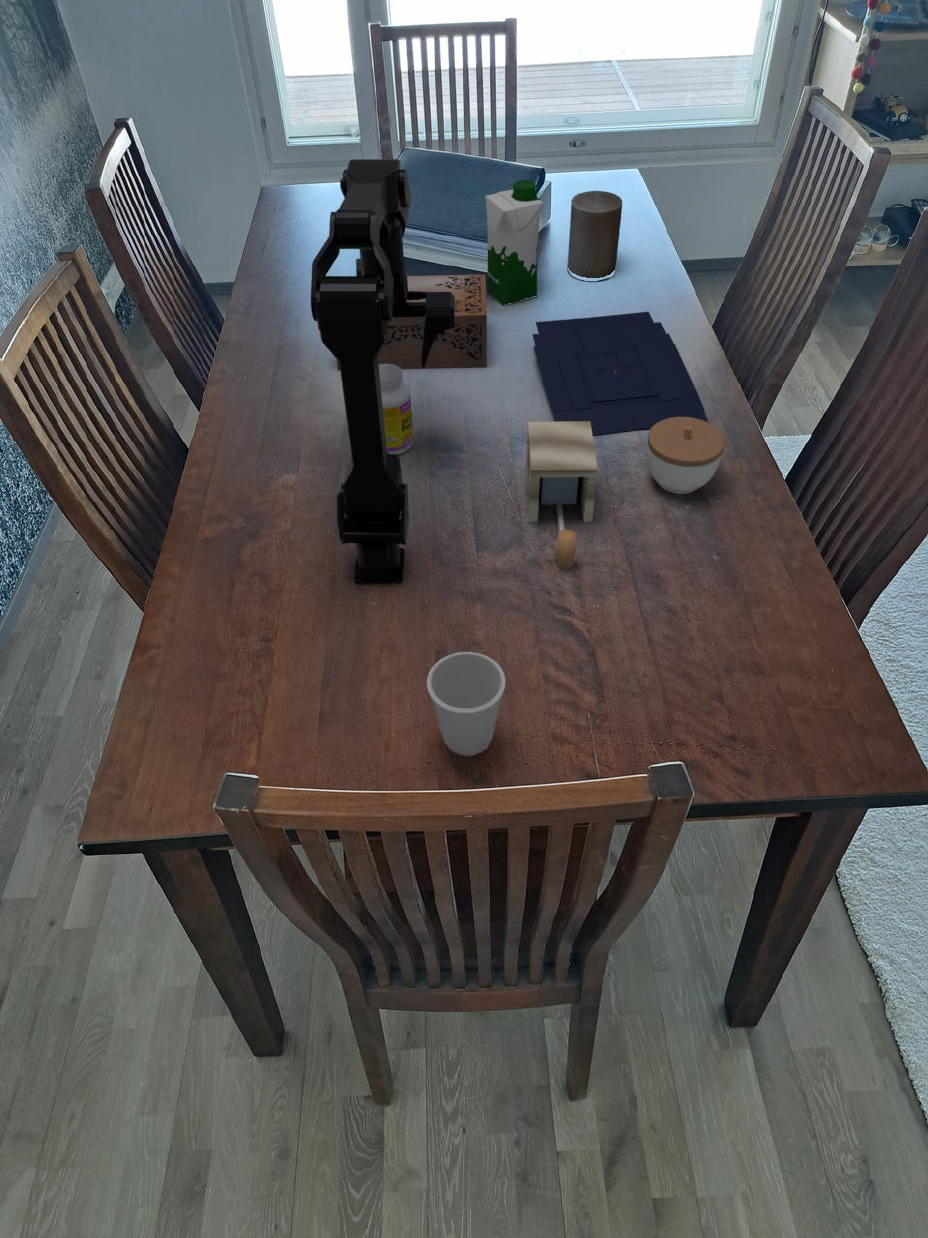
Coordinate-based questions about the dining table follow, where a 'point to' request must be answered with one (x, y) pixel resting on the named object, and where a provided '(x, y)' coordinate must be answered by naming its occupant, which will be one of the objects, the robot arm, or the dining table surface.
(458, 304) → the tissue box cover
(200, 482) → the dining table surface
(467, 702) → the dixie cup
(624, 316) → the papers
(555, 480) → the tethered block
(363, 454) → the robot arm
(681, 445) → the lidded jar
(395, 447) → the supplement bottle
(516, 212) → the milk carton
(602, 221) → the pillar candle
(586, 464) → the cubby lane
